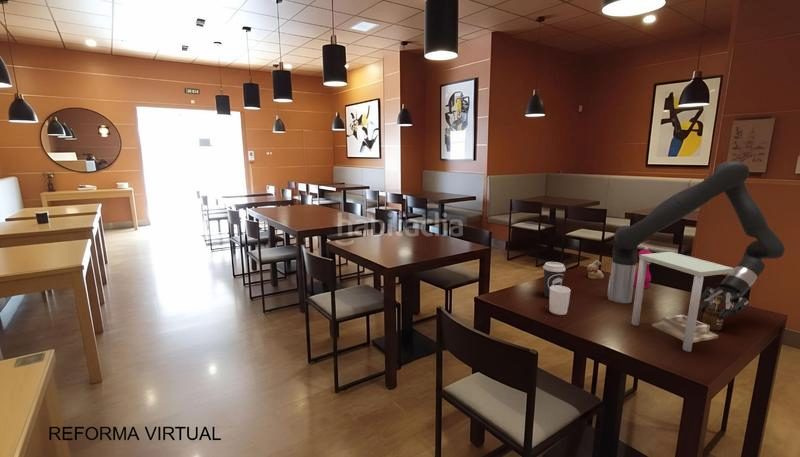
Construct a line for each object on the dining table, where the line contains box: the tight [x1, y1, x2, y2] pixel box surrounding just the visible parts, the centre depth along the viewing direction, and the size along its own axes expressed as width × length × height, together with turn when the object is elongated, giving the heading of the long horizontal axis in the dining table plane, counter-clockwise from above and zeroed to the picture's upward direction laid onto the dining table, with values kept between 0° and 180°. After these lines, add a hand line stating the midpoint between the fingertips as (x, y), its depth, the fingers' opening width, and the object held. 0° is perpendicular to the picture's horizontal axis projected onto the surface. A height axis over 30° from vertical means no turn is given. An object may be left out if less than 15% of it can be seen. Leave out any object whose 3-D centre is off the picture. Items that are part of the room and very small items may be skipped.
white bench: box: [631, 251, 735, 353], centre depth 136 cm, size 15×22×28 cm
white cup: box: [548, 285, 572, 316], centre depth 157 cm, size 8×8×10 cm
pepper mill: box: [633, 246, 653, 289], centre depth 186 cm, size 7×7×20 cm
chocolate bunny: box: [586, 259, 605, 280], centre depth 200 cm, size 6×8×10 cm
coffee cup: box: [542, 261, 567, 298], centre depth 174 cm, size 10×10×15 cm
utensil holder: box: [702, 295, 724, 331], centre depth 143 cm, size 6×6×12 cm
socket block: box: [651, 314, 719, 343], centre depth 140 cm, size 14×14×4 cm
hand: (710, 314), depth 143 cm, fingers open, 6 cm apart
